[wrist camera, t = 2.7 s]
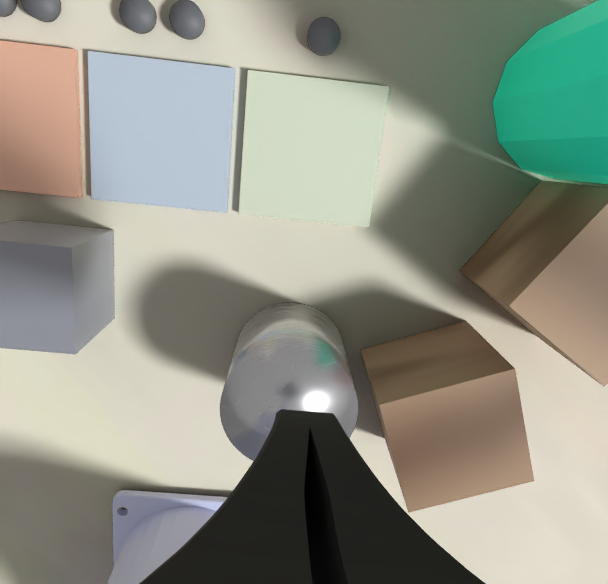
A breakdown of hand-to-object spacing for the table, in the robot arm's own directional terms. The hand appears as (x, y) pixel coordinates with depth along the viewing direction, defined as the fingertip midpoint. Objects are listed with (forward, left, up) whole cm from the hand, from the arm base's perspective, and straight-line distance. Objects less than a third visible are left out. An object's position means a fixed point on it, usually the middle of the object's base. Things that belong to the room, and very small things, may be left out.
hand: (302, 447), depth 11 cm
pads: (+8, +6, -10) cm, 14 cm away
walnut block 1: (-3, -6, -11) cm, 13 cm away
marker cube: (+1, +10, -11) cm, 15 cm away
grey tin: (-2, 0, -11) cm, 11 cm away
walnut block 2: (+3, -10, -11) cm, 15 cm away
